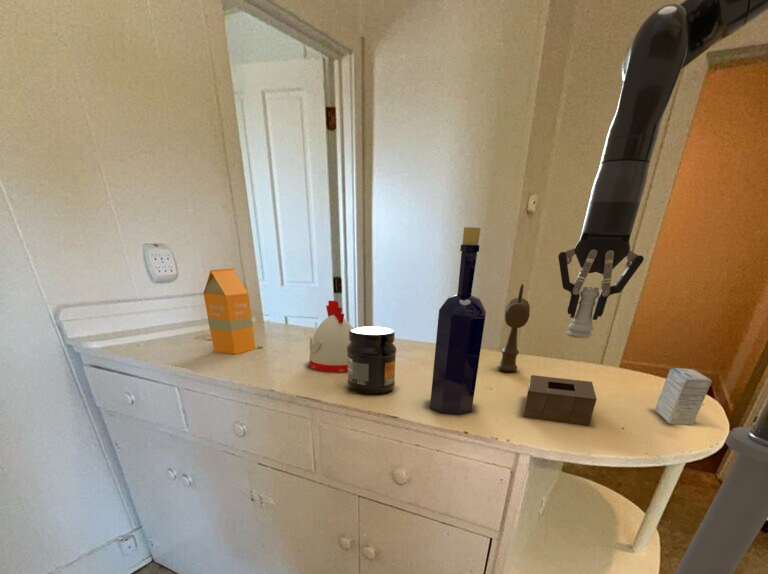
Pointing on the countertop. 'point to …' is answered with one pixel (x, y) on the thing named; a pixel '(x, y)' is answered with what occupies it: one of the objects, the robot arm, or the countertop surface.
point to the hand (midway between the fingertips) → (583, 317)
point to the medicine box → (682, 396)
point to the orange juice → (228, 312)
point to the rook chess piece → (584, 314)
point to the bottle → (459, 338)
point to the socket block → (560, 400)
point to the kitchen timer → (331, 342)
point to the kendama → (514, 330)
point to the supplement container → (371, 360)
